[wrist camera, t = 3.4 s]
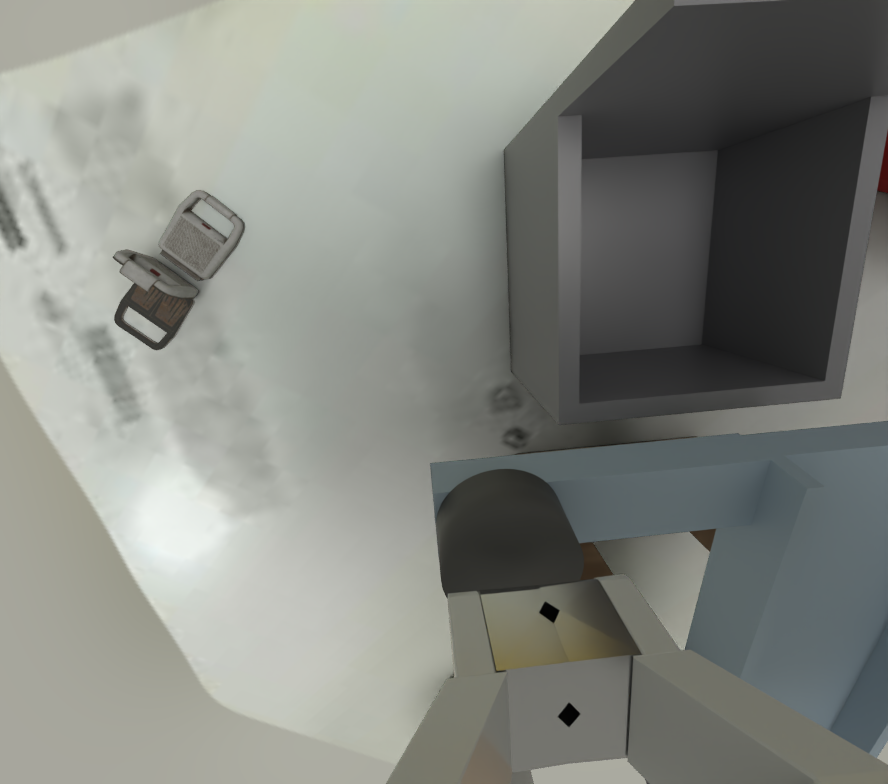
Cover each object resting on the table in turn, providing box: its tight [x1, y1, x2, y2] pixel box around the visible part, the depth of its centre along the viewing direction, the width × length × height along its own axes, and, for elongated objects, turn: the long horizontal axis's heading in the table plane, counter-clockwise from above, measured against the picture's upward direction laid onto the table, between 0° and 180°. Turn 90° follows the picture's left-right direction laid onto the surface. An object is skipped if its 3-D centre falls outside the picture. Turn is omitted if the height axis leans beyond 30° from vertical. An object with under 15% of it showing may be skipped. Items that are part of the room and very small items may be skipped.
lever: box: [430, 421, 888, 784], centre depth 16 cm, size 14×20×6 cm
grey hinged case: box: [113, 190, 245, 350], centre depth 23 cm, size 8×3×4 cm, turn 141°
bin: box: [504, 0, 888, 425], centre depth 18 cm, size 12×12×16 cm
